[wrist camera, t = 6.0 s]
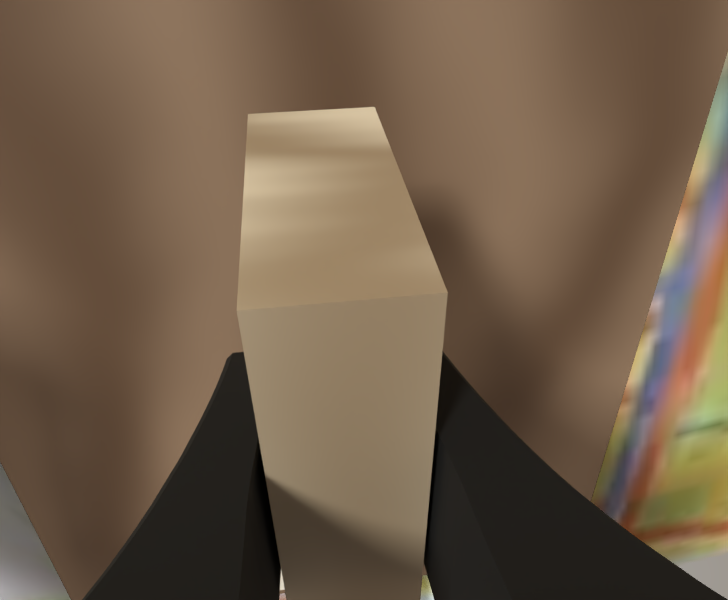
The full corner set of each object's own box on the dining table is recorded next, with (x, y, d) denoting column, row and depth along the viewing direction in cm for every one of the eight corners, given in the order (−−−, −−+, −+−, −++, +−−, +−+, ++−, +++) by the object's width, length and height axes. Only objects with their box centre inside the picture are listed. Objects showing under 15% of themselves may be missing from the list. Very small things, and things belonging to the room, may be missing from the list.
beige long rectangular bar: (299, 520, 16) (310, 739, 12) (248, 114, 10) (236, 310, 6) (374, 511, 17) (408, 724, 13) (374, 106, 10) (447, 292, 6)
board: (87, 594, 25) (81, 618, 24) (-427, -471, 9) (-497, -506, 8) (564, 535, 27) (574, 555, 26) (835, -429, 11) (881, -452, 10)
